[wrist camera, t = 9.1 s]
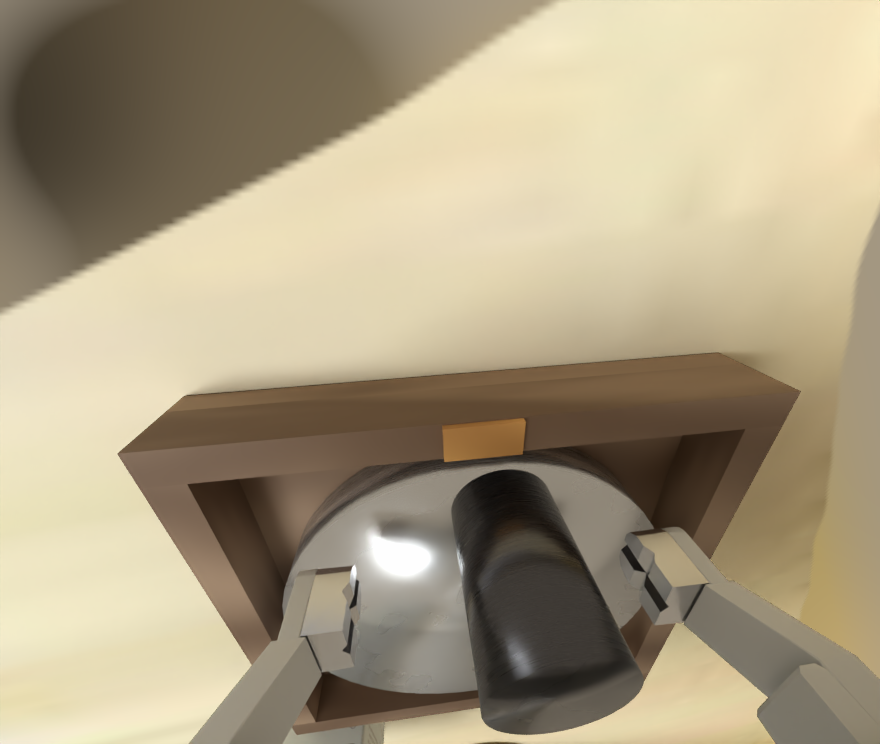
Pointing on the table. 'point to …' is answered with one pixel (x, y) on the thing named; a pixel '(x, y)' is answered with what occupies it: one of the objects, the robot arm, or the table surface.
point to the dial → (488, 583)
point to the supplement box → (341, 736)
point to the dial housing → (450, 438)
